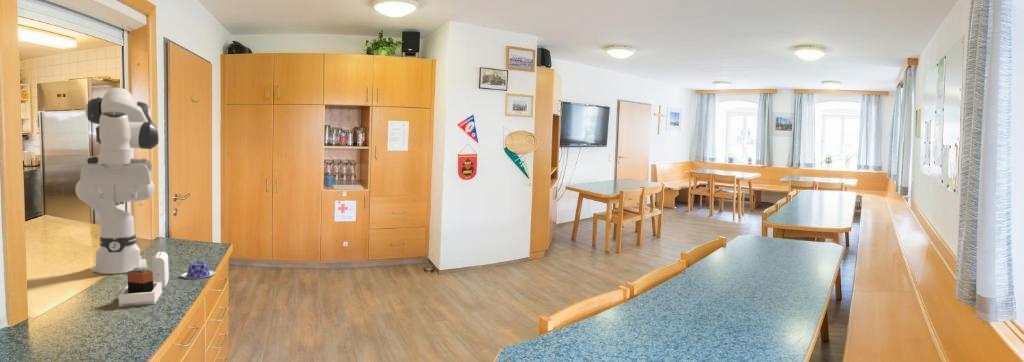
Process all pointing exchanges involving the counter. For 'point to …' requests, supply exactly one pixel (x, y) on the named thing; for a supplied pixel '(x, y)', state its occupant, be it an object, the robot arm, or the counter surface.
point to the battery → (140, 280)
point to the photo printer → (160, 268)
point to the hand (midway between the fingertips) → (117, 198)
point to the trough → (140, 296)
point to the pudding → (198, 270)
